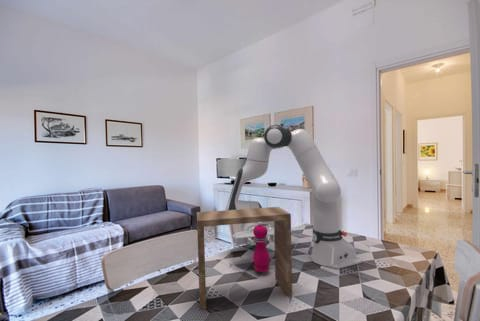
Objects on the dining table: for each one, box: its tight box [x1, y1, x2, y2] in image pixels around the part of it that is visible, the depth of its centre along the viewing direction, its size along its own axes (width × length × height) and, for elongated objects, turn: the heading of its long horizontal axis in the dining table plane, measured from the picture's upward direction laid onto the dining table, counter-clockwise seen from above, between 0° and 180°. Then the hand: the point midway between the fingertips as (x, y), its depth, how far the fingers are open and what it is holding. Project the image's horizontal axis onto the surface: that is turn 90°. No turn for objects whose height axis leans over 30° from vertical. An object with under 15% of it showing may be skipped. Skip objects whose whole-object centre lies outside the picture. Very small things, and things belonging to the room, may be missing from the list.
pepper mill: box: [252, 222, 271, 273], centre depth 101 cm, size 7×7×20 cm
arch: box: [196, 206, 293, 310], centre depth 87 cm, size 32×12×29 cm, turn 101°
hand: (261, 243), depth 101 cm, fingers closed on pepper mill, 5 cm apart
